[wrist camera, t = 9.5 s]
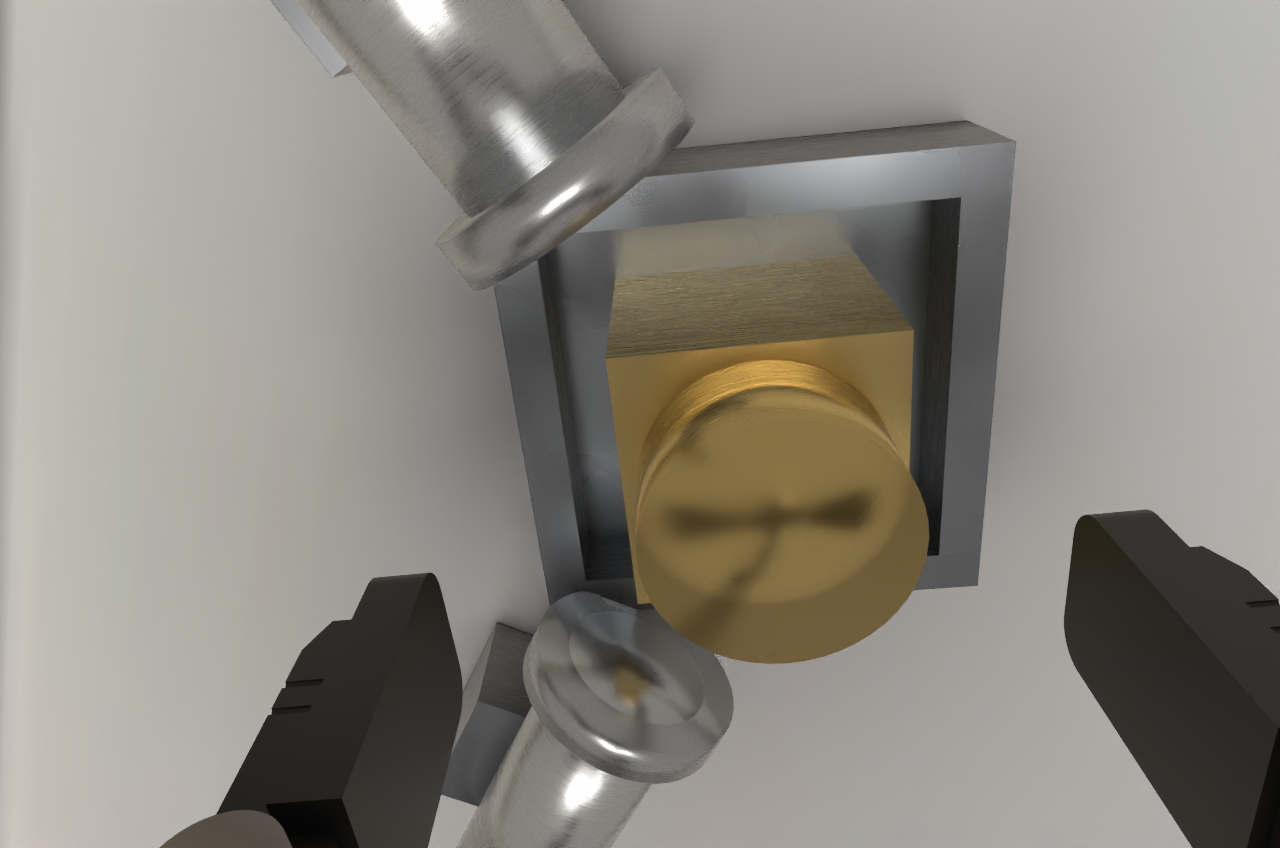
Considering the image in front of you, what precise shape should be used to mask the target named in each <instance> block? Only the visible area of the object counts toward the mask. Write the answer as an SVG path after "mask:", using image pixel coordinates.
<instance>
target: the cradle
mask: <svg viewBox="0 0 1280 848" xmlns="http://www.w3.org/2000/svg"><path fill="white" fill-rule="evenodd" d="M1015 146H1016V141H1014V140H1012V139H1009V138H1007V137H1005V136H1002V135H1000V134H997V133H995V132H993V131H990V130H988V129H986V128H983V127H981V126H979V125H976V124H974V123H972V122H969V121H958V122H948V123H938V124H927V125H917V126H907V127H897V128H887V129H876V130H866V131H856V132H846V133H836V134H825V135H815V136H805V137H795V138H785V139H774V140H764V141H754V142H744V143H733V144H723V145H713V146H703V147H693V148H682V149H674V150H673V151H672V152H671V153H670V154H669V155H668V156H667V157H666V158H665V159H664V160H663V161H662V162H661V163H659V164H658V165H657V166H656V167H655V168H654V169H653V170H652V171H651V172H650V173H649V174H648V175H646V176H645V177H644V178H643V179H642V180H641V181H640V182H638V183H637V184H636V185H635V186H634V187H633V188H631V189H630V190H629V191H628V192H627V193H625V194H624V195H623V196H622V197H621V198H620V199H618V200H617V201H616V202H615V203H613V204H612V205H611V206H610V207H608V208H607V209H606V210H605V211H603V212H602V213H601V214H600V215H598V216H597V217H596V218H594V219H593V220H592V221H590V222H589V223H588V224H587V225H585V226H584V227H583V228H581V229H580V230H578V231H577V232H576V233H574V234H573V235H572V236H570V237H569V238H568V239H566V240H565V241H563V242H562V243H560V244H559V245H558V246H556V247H555V248H553V249H552V250H550V251H549V252H548V253H546V254H545V255H543V256H542V257H540V258H539V259H537V260H536V261H534V262H532V263H531V264H529V265H528V266H526V267H524V268H523V269H521V270H520V271H518V272H516V273H514V274H513V275H511V276H509V277H507V278H506V279H504V280H502V281H500V282H498V283H496V284H494V289H495V295H496V300H497V306H498V312H499V318H500V323H501V329H502V335H503V340H504V346H505V352H506V358H507V363H508V369H509V375H510V380H511V386H512V392H513V398H514V403H515V409H516V415H517V420H518V426H519V432H520V437H521V443H522V449H523V455H524V460H525V466H526V472H527V477H528V483H529V489H530V495H531V500H532V506H533V512H534V517H535V523H536V529H537V535H538V540H539V546H540V552H541V557H542V563H543V569H544V575H545V580H546V586H547V592H548V597H549V603H550V606H551V605H552V604H554V603H555V602H556V601H557V600H559V599H561V598H562V597H564V596H566V595H569V594H572V593H575V592H580V591H588V592H590V593H593V594H596V595H598V596H601V597H604V598H606V599H609V600H612V601H614V602H617V603H620V604H623V605H625V606H628V607H631V608H633V609H636V610H640V609H654V608H655V607H654V606H653V605H652V603H644V604H638V602H637V594H636V587H635V579H634V572H633V564H632V556H631V549H630V541H629V534H628V526H627V518H626V511H625V503H624V496H623V488H622V480H621V473H620V465H619V458H618V450H617V442H616V435H615V427H614V420H613V412H612V405H611V397H610V389H609V382H608V374H607V367H606V351H607V343H608V334H609V326H610V318H611V310H612V301H613V293H614V285H615V279H619V278H630V277H640V276H650V275H660V274H670V273H680V272H690V271H700V270H710V269H720V268H731V267H741V266H751V265H761V264H771V263H781V262H791V261H801V260H811V259H821V258H832V257H842V256H852V255H857V256H858V258H859V259H860V260H861V262H862V263H863V264H864V265H865V267H866V268H867V269H868V271H869V272H870V273H871V275H872V276H873V277H874V279H875V280H876V281H877V283H878V284H879V285H880V286H881V288H882V289H883V290H884V292H885V293H886V294H887V296H888V297H889V298H890V300H891V301H892V302H893V304H894V305H895V306H896V307H897V309H898V310H899V311H900V313H901V314H902V315H903V317H904V318H905V319H906V321H907V322H908V323H909V325H910V326H911V327H912V328H913V330H914V338H913V369H912V400H911V431H910V462H909V472H910V474H911V476H912V477H913V479H914V481H915V483H916V485H917V487H918V489H919V491H920V493H921V496H922V499H923V501H924V504H925V507H926V512H927V517H928V522H929V543H928V551H927V557H926V560H925V564H924V567H923V570H922V573H921V575H920V577H919V579H918V582H917V584H916V586H915V587H914V589H913V590H921V589H936V588H950V587H964V586H978V575H979V563H980V551H981V540H982V528H983V517H984V505H985V493H986V482H987V470H988V459H989V447H990V436H991V424H992V412H993V401H994V389H995V378H996V366H997V354H998V343H999V331H1000V320H1001V308H1002V297H1003V285H1004V273H1005V262H1006V250H1007V239H1008V227H1009V215H1010V204H1011V192H1012V181H1013V169H1014V157H1015Z"/></svg>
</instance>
